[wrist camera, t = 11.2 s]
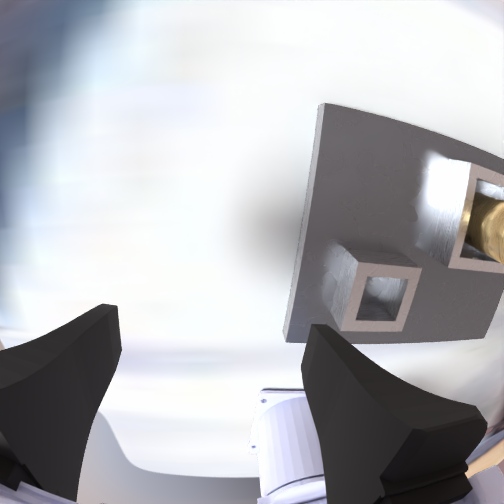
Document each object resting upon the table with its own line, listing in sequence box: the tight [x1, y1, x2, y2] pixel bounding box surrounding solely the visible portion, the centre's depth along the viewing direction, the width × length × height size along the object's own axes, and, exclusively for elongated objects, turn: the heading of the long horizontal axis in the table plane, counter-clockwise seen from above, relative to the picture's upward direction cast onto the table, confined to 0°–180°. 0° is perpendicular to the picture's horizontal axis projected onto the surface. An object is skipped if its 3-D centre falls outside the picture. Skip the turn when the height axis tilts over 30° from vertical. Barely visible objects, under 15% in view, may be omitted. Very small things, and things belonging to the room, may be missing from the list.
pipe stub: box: [464, 192, 504, 265], centre depth 17 cm, size 4×4×6 cm
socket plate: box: [283, 103, 504, 344], centre depth 20 cm, size 16×20×4 cm
